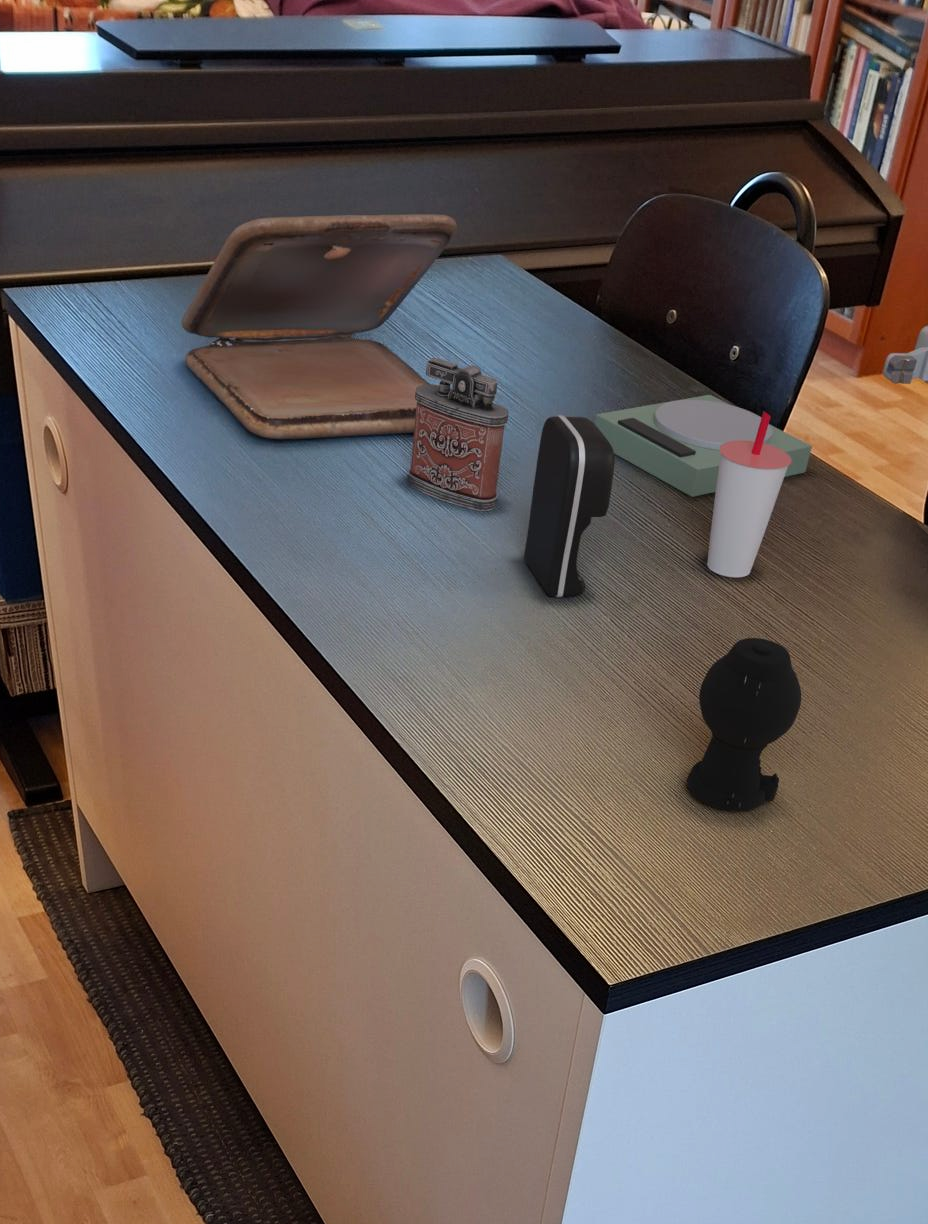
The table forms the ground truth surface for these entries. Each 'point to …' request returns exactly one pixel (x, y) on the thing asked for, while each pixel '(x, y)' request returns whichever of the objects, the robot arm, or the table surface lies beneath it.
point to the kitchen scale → (690, 440)
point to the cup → (744, 501)
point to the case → (313, 322)
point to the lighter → (457, 436)
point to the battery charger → (566, 499)
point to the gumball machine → (744, 723)
